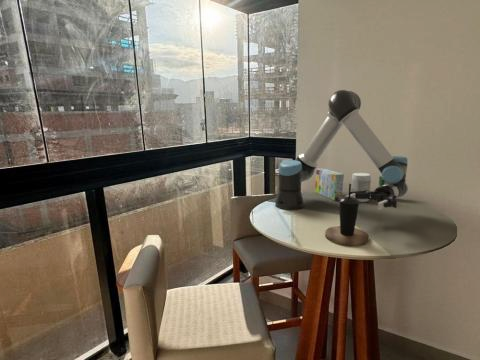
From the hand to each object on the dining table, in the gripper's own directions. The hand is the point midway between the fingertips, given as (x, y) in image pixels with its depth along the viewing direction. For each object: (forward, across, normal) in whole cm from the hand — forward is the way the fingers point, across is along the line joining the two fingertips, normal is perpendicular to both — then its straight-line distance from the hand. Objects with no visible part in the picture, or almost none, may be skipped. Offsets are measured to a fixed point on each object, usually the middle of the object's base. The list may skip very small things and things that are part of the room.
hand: (361, 202), depth 118 cm
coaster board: (+10, 0, -12) cm, 16 cm away
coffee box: (-55, +14, -12) cm, 58 cm away
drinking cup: (+10, 0, -11) cm, 15 cm away
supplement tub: (-42, +23, -12) cm, 49 cm away
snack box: (-36, +40, -12) cm, 55 cm away
